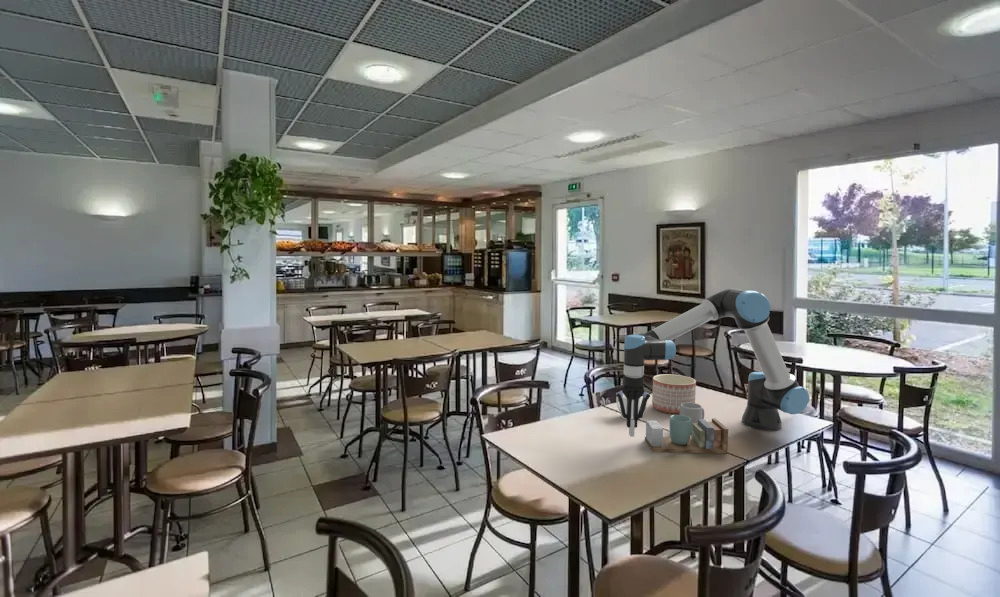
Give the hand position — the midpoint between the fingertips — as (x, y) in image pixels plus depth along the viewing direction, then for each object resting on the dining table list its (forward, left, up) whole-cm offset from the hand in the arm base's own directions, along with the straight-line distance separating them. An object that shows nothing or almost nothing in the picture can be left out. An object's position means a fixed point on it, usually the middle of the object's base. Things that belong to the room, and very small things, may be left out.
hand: (631, 435), depth 189 cm
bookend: (-9, 0, -3) cm, 9 cm away
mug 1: (-6, -33, -4) cm, 33 cm away
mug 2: (-30, -18, -4) cm, 35 cm away
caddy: (-20, 0, -4) cm, 21 cm away
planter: (-30, -45, -4) cm, 54 cm away
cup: (-19, 0, -3) cm, 19 cm away
